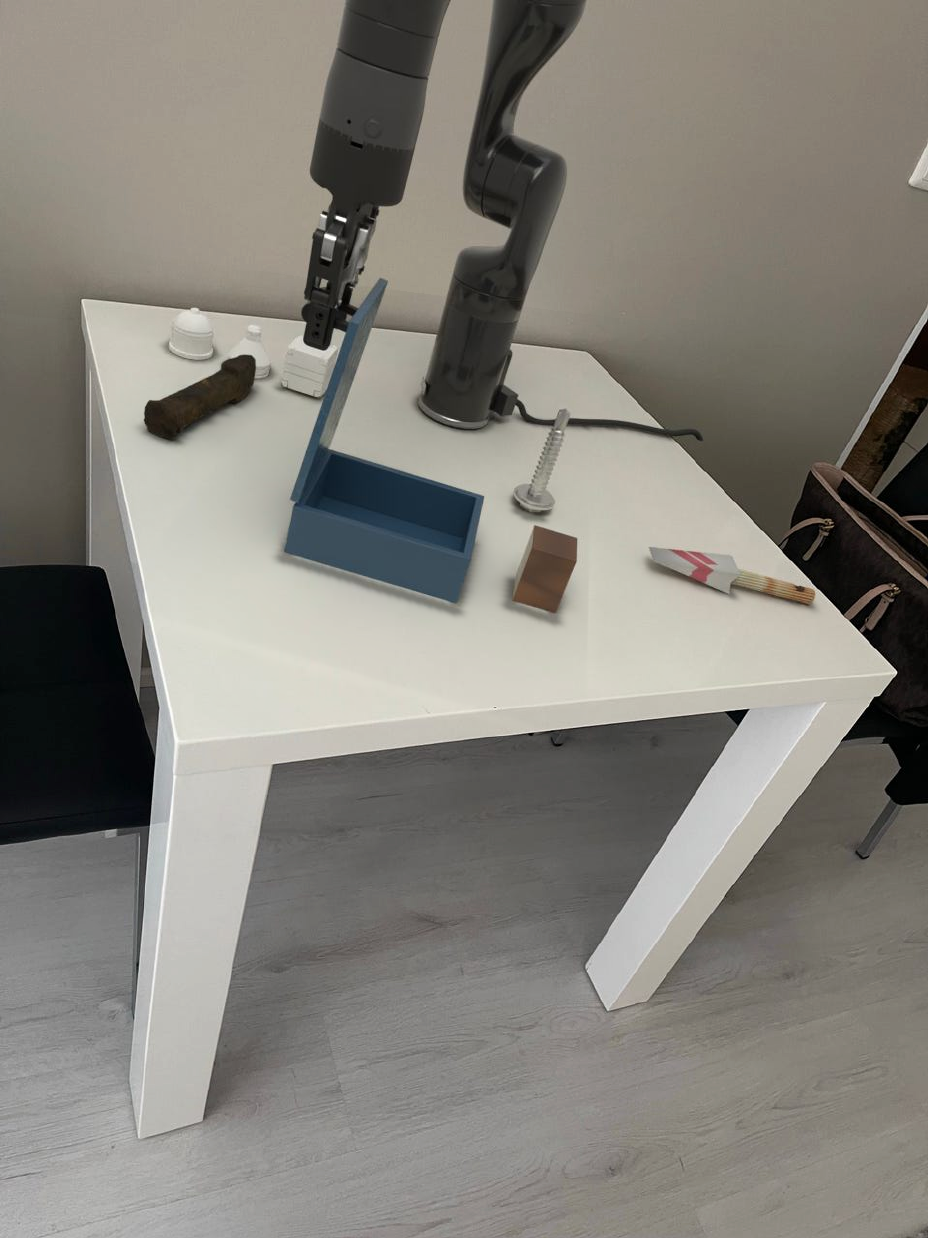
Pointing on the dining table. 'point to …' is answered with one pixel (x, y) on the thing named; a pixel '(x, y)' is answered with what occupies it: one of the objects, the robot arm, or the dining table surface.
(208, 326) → the container set
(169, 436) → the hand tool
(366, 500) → the toolbox
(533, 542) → the brown block
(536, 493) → the screw
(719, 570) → the knife with wooden handle
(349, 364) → the toolbox lid
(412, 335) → the dining table surface
